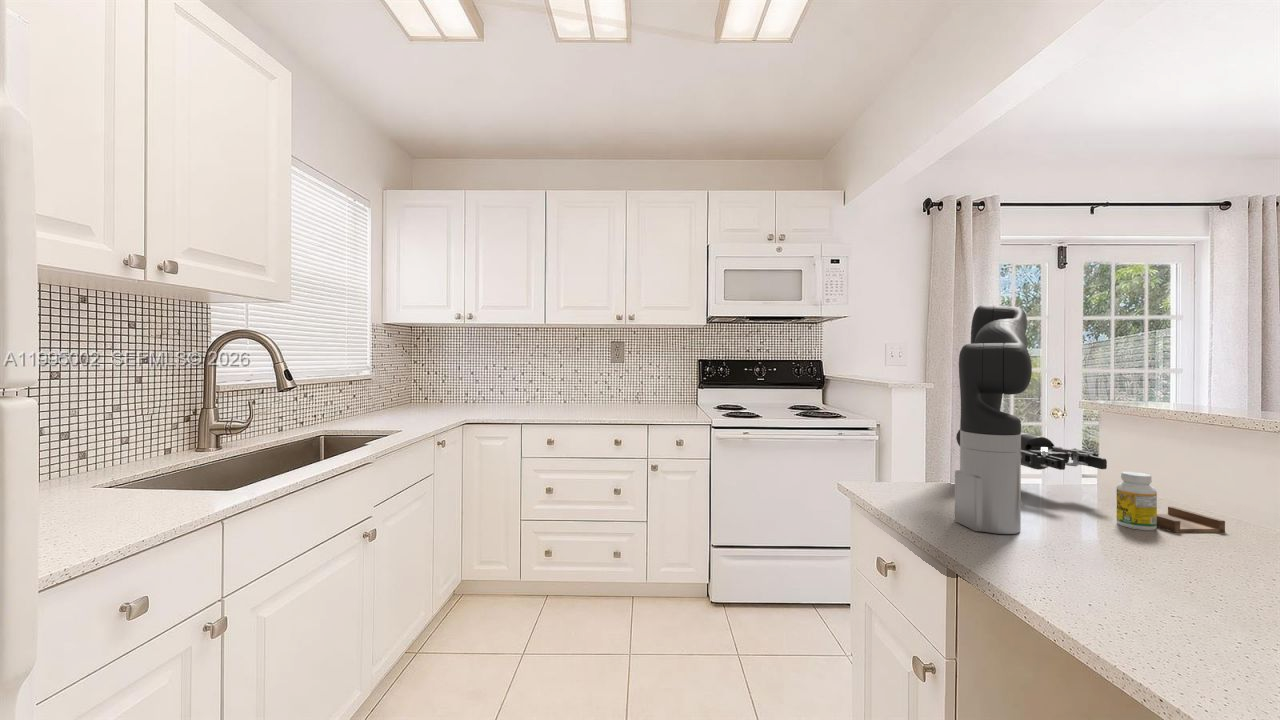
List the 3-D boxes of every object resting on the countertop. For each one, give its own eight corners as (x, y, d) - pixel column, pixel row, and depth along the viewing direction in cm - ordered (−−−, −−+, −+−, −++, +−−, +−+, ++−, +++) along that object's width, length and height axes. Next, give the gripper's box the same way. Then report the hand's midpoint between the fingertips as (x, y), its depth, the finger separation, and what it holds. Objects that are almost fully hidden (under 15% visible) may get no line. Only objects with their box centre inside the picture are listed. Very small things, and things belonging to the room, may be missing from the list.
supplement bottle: (1163, 532, 93) (1163, 478, 93) (1125, 529, 95) (1125, 475, 95) (1146, 523, 98) (1146, 471, 98) (1110, 520, 100) (1110, 469, 100)
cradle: (1174, 532, 93) (1174, 521, 93) (1126, 517, 102) (1127, 506, 102) (1225, 532, 94) (1225, 520, 94) (1172, 516, 103) (1173, 506, 103)
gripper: (995, 434, 124) (1050, 446, 108) (1055, 433, 124) (1119, 445, 108) (995, 465, 124) (1049, 483, 108) (1055, 465, 125) (1118, 482, 108)
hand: (1084, 464), depth 108 cm, fingers open, 8 cm apart
